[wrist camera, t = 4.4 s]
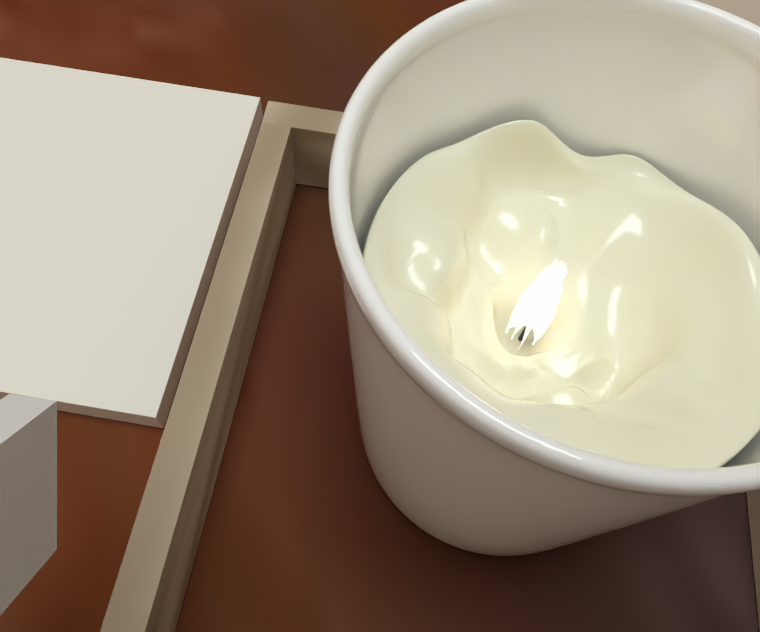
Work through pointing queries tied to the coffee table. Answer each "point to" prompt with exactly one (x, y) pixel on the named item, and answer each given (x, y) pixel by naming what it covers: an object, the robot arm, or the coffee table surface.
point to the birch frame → (231, 376)
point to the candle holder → (554, 266)
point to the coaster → (110, 231)
